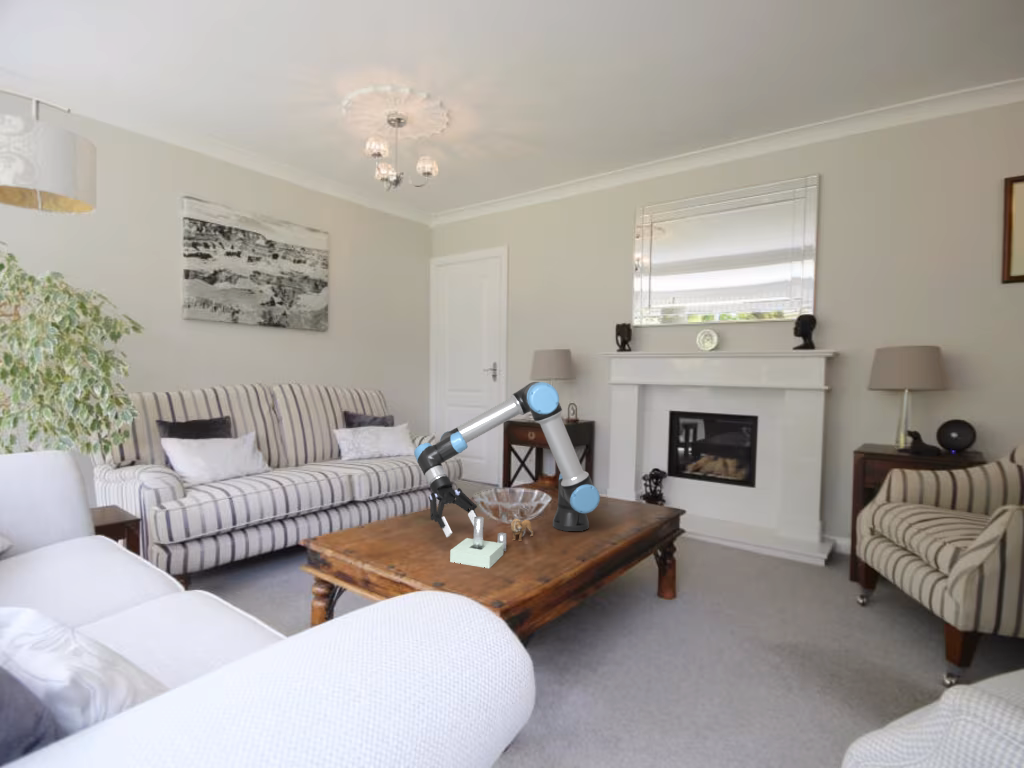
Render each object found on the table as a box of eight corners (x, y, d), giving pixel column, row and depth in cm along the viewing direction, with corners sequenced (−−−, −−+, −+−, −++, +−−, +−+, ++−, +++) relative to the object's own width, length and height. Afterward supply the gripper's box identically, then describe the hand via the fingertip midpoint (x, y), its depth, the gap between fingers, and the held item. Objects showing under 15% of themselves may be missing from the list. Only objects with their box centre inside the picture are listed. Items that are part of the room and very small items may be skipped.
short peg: (507, 549, 192) (507, 533, 192) (504, 552, 189) (505, 535, 189) (498, 548, 193) (499, 532, 193) (495, 551, 190) (496, 534, 190)
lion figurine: (519, 545, 197) (520, 521, 197) (506, 542, 200) (507, 518, 200) (535, 535, 211) (536, 512, 210) (523, 532, 213) (524, 510, 213)
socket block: (503, 554, 186) (503, 543, 186) (489, 568, 173) (489, 556, 173) (466, 549, 191) (466, 537, 191) (450, 561, 177) (450, 550, 177)
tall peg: (483, 557, 183) (485, 517, 183) (479, 560, 180) (481, 519, 180) (474, 556, 184) (476, 515, 184) (471, 559, 181) (472, 518, 181)
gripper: (459, 482, 207) (484, 530, 197) (406, 491, 188) (431, 544, 179) (468, 471, 203) (495, 519, 193) (416, 479, 185) (442, 532, 175)
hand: (464, 531), depth 186 cm, fingers open, 13 cm apart
